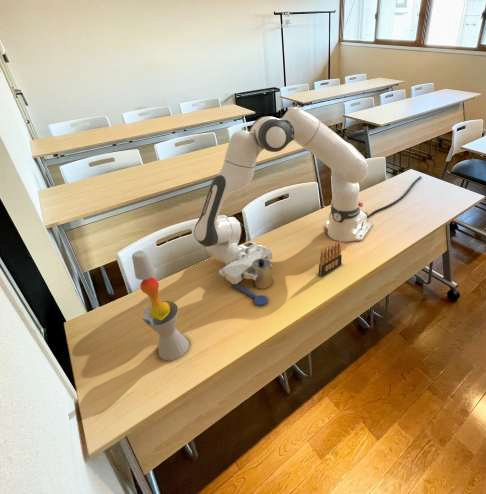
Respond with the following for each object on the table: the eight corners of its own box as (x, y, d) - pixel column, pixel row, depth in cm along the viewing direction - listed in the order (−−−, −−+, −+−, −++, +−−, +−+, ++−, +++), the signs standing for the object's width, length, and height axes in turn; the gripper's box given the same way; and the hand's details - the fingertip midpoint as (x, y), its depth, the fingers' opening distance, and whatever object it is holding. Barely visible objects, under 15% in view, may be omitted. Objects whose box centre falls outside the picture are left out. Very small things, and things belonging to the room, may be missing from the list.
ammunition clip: (338, 262, 132) (339, 237, 126) (341, 264, 131) (343, 239, 124) (318, 274, 127) (318, 248, 120) (321, 276, 126) (322, 250, 119)
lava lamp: (151, 354, 98) (109, 259, 78) (172, 332, 105) (139, 239, 85) (175, 365, 95) (138, 268, 75) (195, 341, 102) (166, 247, 81)
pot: (263, 274, 127) (260, 253, 121) (276, 281, 124) (274, 259, 118) (250, 284, 123) (247, 262, 117) (263, 291, 119) (261, 269, 114)
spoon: (229, 288, 121) (229, 285, 120) (238, 282, 124) (238, 279, 123) (261, 308, 113) (260, 305, 112) (269, 300, 115) (269, 297, 115)
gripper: (214, 265, 118) (241, 280, 111) (255, 239, 131) (282, 252, 124) (217, 278, 122) (243, 294, 115) (257, 252, 135) (282, 265, 128)
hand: (264, 272), depth 120 cm, fingers closed on pot, 6 cm apart
